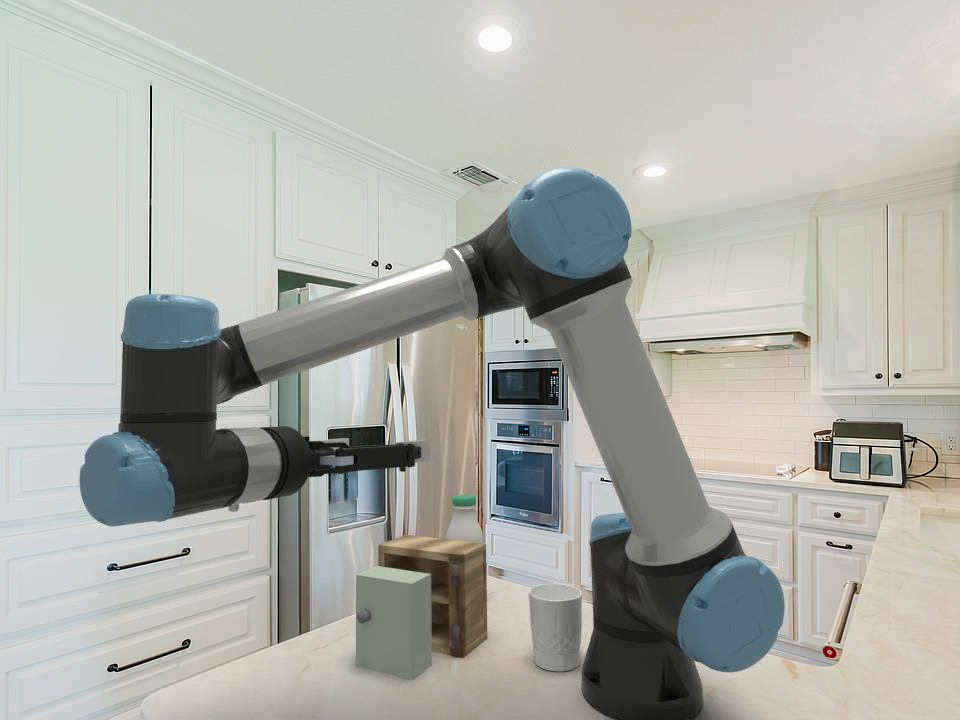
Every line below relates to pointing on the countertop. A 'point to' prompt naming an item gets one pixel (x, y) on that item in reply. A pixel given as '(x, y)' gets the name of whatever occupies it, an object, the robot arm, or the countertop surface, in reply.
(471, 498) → the milk bottle
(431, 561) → the cabinet
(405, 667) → the door panel
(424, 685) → the countertop surface
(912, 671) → the countertop surface
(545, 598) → the white cup
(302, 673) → the countertop surface
